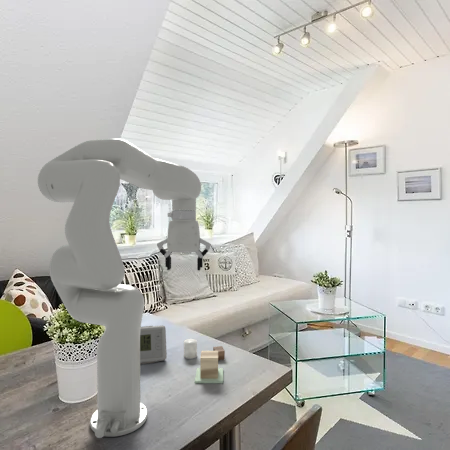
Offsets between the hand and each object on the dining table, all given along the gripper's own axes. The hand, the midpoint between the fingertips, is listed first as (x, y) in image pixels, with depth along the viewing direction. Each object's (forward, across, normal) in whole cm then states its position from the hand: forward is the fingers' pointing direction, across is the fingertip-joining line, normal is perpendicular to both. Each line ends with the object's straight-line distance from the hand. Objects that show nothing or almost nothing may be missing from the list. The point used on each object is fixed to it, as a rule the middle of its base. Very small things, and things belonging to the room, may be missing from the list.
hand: (184, 269), depth 110 cm
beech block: (+29, +9, -10) cm, 32 cm away
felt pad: (+30, +9, -10) cm, 33 cm away
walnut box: (+30, +11, +3) cm, 32 cm away
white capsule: (+30, +2, +3) cm, 30 cm away
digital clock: (+30, -14, -1) cm, 33 cm away
